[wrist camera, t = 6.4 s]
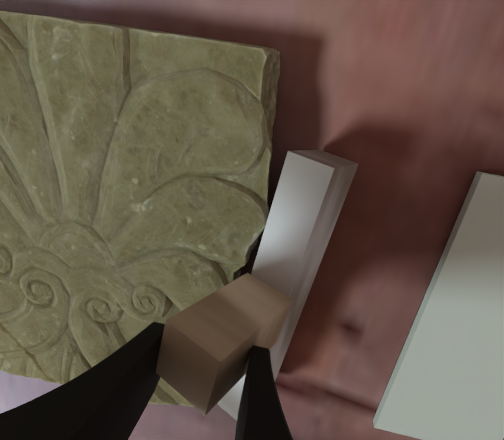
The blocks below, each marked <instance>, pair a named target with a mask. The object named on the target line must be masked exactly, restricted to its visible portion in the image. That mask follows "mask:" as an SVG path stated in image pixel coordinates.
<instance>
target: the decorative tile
mask: <svg viewBox="0 0 504 440" xmlns="http://www.w3.org/2000/svg"><path fill="white" fill-rule="evenodd" d="M279 76H280V51H277V50H276V49H274V48H269V47H263V46H257V45H251V44H245V43H238V42H231V41H225V40H218V39H212V38H205V37H198V36H191V35H184V34H177V33H170V32H164V31H156V30H149V29H142V28H135V27H129V26H122V25H115V24H109V23H102V22H94V21H87V20H80V19H72V18H64V17H55V16H45V15H36V14H27V13H20V12H13V11H6V10H0V370H2V371H4V372H6V373H8V374H13V375H20V376H26V377H32V378H38V379H42V380H44V381H46V382H54V383H59V384H65V383H67V382H69V381H70V380H72V379H74V378H76V377H77V376H79V375H81V374H82V373H84V372H85V371H87V370H89V369H90V368H92V367H93V366H95V365H96V364H98V363H99V362H101V361H102V360H104V359H105V358H107V357H108V356H109V355H111V354H112V353H114V352H115V351H116V350H118V349H119V348H120V347H122V346H123V345H124V344H126V343H127V342H128V341H130V340H131V339H132V338H134V337H135V336H136V335H137V334H139V333H140V332H141V331H142V330H144V329H145V328H146V327H147V326H148V325H150V324H151V323H153V322H158V323H162V324H165V321H166V320H167V319H169V318H170V317H172V316H174V315H175V314H177V313H179V312H181V311H182V310H184V309H186V308H188V307H189V306H191V305H193V304H194V303H196V302H198V301H200V300H201V299H203V298H205V297H206V296H208V295H210V294H212V293H213V292H215V291H217V290H219V289H220V288H222V287H224V286H225V285H227V284H229V283H231V282H232V281H234V280H236V279H237V278H239V277H240V273H241V272H240V268H241V267H243V266H244V265H245V264H246V263H247V262H248V260H249V258H250V253H251V251H252V250H253V249H254V248H255V246H256V245H257V242H258V238H259V235H260V234H261V233H262V231H263V230H264V229H265V226H266V223H267V219H268V216H269V206H268V202H267V194H268V184H269V170H270V164H271V159H272V137H273V125H274V119H275V114H276V96H277V92H278V89H277V82H278V80H279ZM148 403H152V404H164V405H183V406H190V407H194V406H193V405H192V404H191V403H190V402H188V401H187V400H186V399H185V398H184V397H183V396H182V395H180V394H179V393H178V392H177V391H176V390H175V389H174V388H173V387H171V386H170V385H169V384H168V383H167V382H166V381H165V380H163V379H162V378H161V377H160V379H159V382H158V384H157V386H156V389H155V391H154V393H153V395H152V397H151V399H150V400H149V402H148Z"/></svg>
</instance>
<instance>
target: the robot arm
mask: <svg viewBox="0 0 504 440" xmlns="http://www.w3.org/2000/svg"><path fill="white" fill-rule="evenodd" d="M164 326H165V324H162V323H158V322H153V323H151V324H150V325H148V326H147V327H146V328H145V329H144V330H142V331H141V332H140V333H139V334H137V335H136V336H135V337H134V338H132V339H131V340H130V341H128V342H127V343H126V344H124V345H123V346H122V347H120V348H119V349H118V350H116V351H115V352H114V353H112V354H111V355H109V356H108V357H107V358H105V359H104V360H102V361H101V362H99V363H98V364H96V365H95V366H93V367H92V368H90V369H89V370H87V371H85V372H84V373H82V374H81V375H79V376H77V377H76V378H74V379H72V380H70V381H69V382H67V383H65V384H63V385H61V386H60V387H58V388H56V389H54V390H52V391H50V392H48V393H46V394H44V395H42V396H40V397H38V398H36V399H34V400H32V401H29V402H27V403H25V404H23V405H20V406H18V407H16V408H13V409H11V410H9V411H6V412H4V413H1V414H0V440H128V438H129V436H130V435H131V433H132V431H133V429H134V427H135V426H136V424H137V422H138V420H139V418H140V417H141V415H142V413H143V411H144V409H145V408H146V406H147V404H148V402H149V400H150V399H151V397H152V395H153V393H154V391H155V389H156V386H157V384H158V382H159V379H160V376H159V375H158V374H157V373H156V368H157V361H158V356H159V351H160V346H161V341H162V336H163V331H164ZM235 440H293V438H292V436H291V433H290V431H289V428H288V425H287V422H286V420H285V417H284V414H283V411H282V407H281V404H280V401H279V397H278V393H277V389H276V386H275V381H274V377H273V371H272V365H271V357H270V350H269V349H268V348H264V347H260V346H255V345H253V346H252V349H251V353H250V358H249V362H248V367H247V372H246V376H245V381H244V385H243V390H242V395H241V400H240V405H239V410H238V417H237V426H236V435H235Z"/></svg>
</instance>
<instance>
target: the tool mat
mask: <svg viewBox="0 0 504 440" xmlns="http://www.w3.org/2000/svg"><path fill="white" fill-rule="evenodd" d="M373 423H374V428H378V429H382V430H386V431H390V432H394V433H398V434H402V435H406V436H410V437H414V438H418V439H422V440H503V438H504V176H500V175H494V174H489V173H484V172H479V171H477V172H476V174H475V177H474V179H473V182H472V184H471V186H470V189H469V191H468V194H467V196H466V198H465V201H464V203H463V205H462V208H461V210H460V213H459V215H458V217H457V220H456V222H455V225H454V227H453V229H452V232H451V234H450V237H449V239H448V241H447V244H446V246H445V249H444V251H443V253H442V256H441V258H440V261H439V263H438V265H437V268H436V270H435V273H434V275H433V277H432V280H431V282H430V285H429V287H428V289H427V292H426V294H425V297H424V299H423V301H422V304H421V306H420V309H419V311H418V313H417V316H416V318H415V321H414V323H413V325H412V328H411V330H410V333H409V335H408V337H407V340H406V342H405V345H404V347H403V349H402V352H401V354H400V357H399V359H398V361H397V364H396V366H395V369H394V371H393V373H392V376H391V378H390V381H389V383H388V385H387V388H386V390H385V393H384V395H383V397H382V400H381V402H380V404H379V407H378V409H377V412H376V414H375V416H374V419H373Z"/></svg>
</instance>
